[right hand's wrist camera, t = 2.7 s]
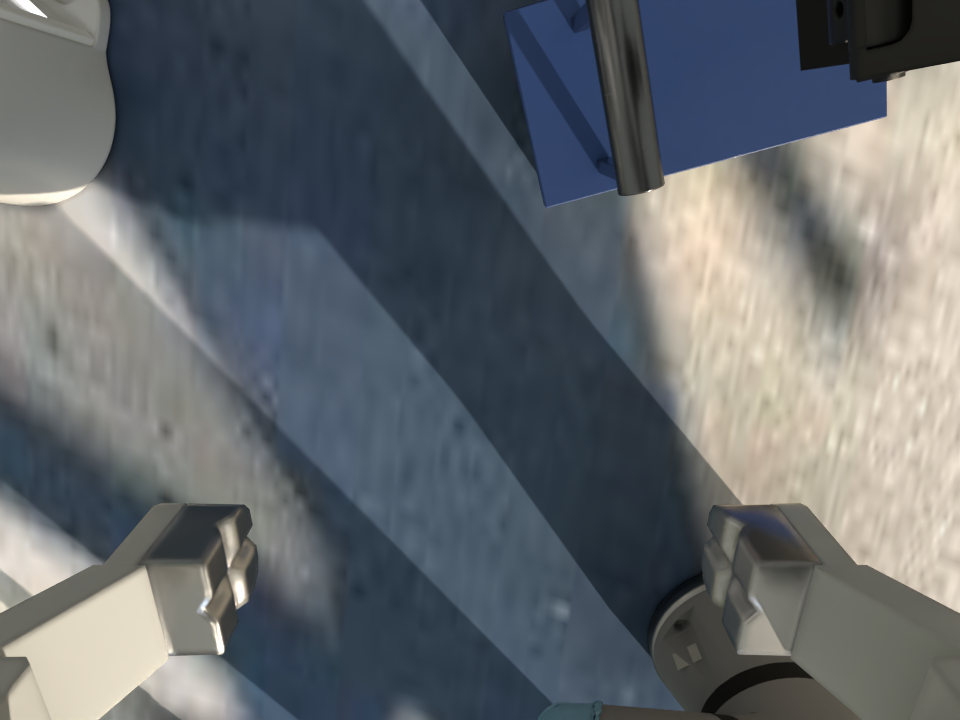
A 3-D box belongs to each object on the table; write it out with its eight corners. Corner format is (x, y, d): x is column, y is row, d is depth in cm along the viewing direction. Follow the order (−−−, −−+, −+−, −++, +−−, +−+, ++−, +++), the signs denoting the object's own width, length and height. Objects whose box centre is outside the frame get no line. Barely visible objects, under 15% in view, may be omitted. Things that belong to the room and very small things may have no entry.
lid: (544, 205, 32) (568, 235, 24) (502, 15, 29) (513, -27, 20) (875, 117, 30) (1023, 116, 22) (872, -95, 27) (1046, -189, 19)
